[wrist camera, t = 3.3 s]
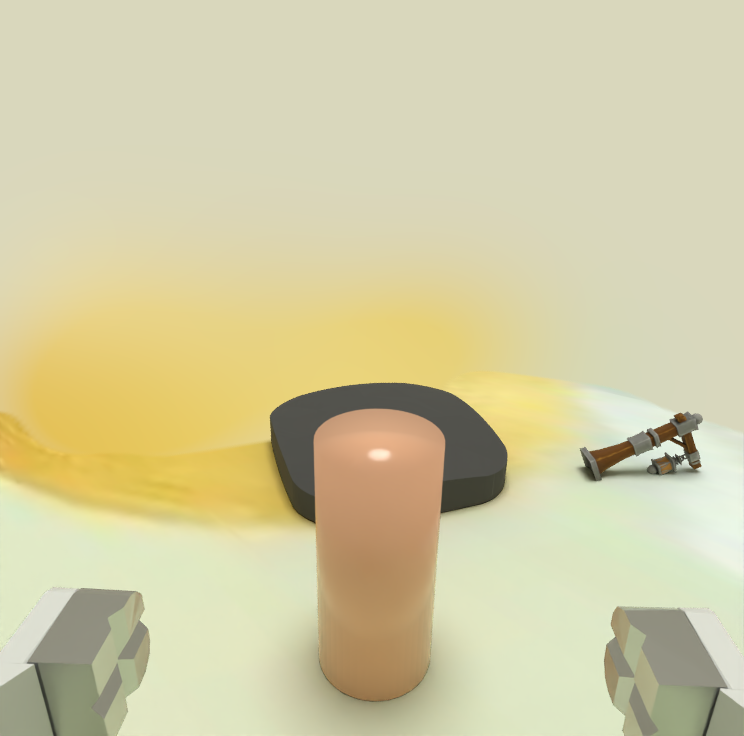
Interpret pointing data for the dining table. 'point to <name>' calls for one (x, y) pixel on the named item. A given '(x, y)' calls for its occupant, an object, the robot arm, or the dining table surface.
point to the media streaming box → (449, 413)
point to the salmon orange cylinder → (376, 548)
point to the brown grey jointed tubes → (650, 447)
